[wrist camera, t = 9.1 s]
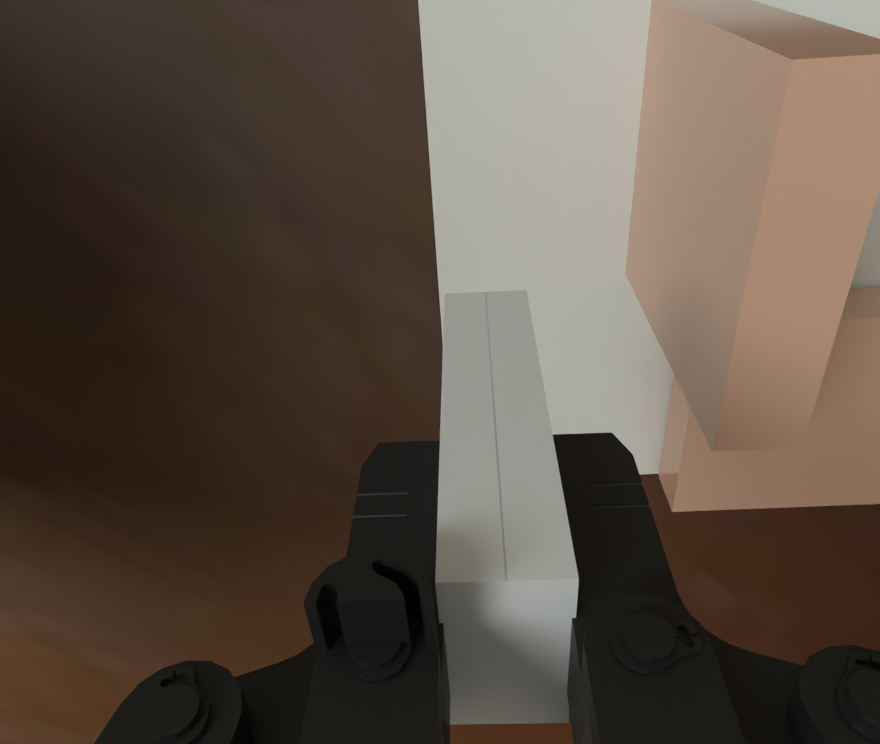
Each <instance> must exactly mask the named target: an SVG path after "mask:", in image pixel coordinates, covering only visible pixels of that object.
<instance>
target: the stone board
mask: <svg viewBox="0 0 880 744" xmlns="http://www.w3.org/2000/svg"><path fill="white" fill-rule="evenodd" d="M753 1H756V2H759V3H763V4H766V5H769V6H773V7H776V8H779V9H783V10H786V11H789V12H792V13H796V14H799V15H802V16H806V17H809V18H812V19H816V20H819V21H822V22H826V23H829V24H832V25H835V26H839V27H842V28H845V29H849V30H852V31H855V32H859V33H862V34H865V35H868V36H872V37H875V38H878V39H880V0H753ZM418 4H419V18H420V32H421V46H422V60H423V74H424V88H425V102H426V116H427V130H428V144H429V159H430V173H431V187H432V201H433V215H434V229H435V243H436V257H437V271H438V285H439V299H440V313H441V327H442V342H443V330H444V299H445V294H452V293H474V292H495V291H517V290H526V291H527V297H528V302H529V308H530V313H531V319H532V324H533V330H534V335H535V341H536V346H537V351H538V357H539V362H540V368H541V373H542V379H543V384H544V390H545V395H546V401H547V406H548V412H549V417H550V423H551V428H552V434H553V435H554V434H583V433H611V432H612V433H613V434H614V435H615V436H616V437H617V438H618V440H619V441H620V442H621V443H622V444H623V445H624V446H625V447H626V448H627V449H628V450H629V451H630V452H631V453H632V454H633V456H634V459H635V462H636V465H637V469H638V472H639V474H659V470H660V464H661V457H662V451H663V444H664V438H665V431H666V425H667V418H668V412H669V405H670V399H671V392H672V385H673V379H674V373H673V371H672V369H671V367H670V365H669V363H668V361H667V359H666V357H665V355H664V353H663V350H662V348H661V346H660V344H659V342H658V340H657V338H656V336H655V334H654V332H653V330H652V328H651V326H650V324H649V322H648V320H647V318H646V316H645V314H644V312H643V309H642V307H641V305H640V303H639V301H638V299H637V297H636V295H635V293H634V291H633V289H632V287H631V285H630V283H629V281H628V279H627V277H626V275H625V271H626V260H627V250H628V240H629V229H630V219H631V208H632V198H633V187H634V177H635V167H636V156H637V146H638V135H639V125H640V114H641V104H642V94H643V83H644V73H645V62H646V52H647V41H648V31H649V21H650V10H651V0H418ZM866 287H880V189H879V193H878V196H877V199H876V203H875V206H874V209H873V213H872V216H871V219H870V223H869V226H868V229H867V233H866V236H865V239H864V243H863V246H862V249H861V253H860V256H859V259H858V263H857V266H856V269H855V273H854V276H853V279H852V283H851V286H850V288H866Z"/></svg>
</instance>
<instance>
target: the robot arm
mask: <svg viewBox="0 0 880 744" xmlns="http://www.w3.org/2000/svg"><path fill="white" fill-rule="evenodd" d="M641 482H642V481H641V478H640V475H639V472H638V469H637V465H636V462H635V459H634V456H633V454H632V453H631V452H630V451H629V450H628V449H627V448H626V447H625V446H624V445H623V444H622V443H621V442H620V441H619V440H618V438H617V437H616V436H615V435H614V434H613V433H612V432H611V433H583V434H554V435H553V434H552V428H551V423H550V417H549V412H548V406H547V401H546V395H545V390H544V384H543V379H542V373H541V368H540V362H539V357H538V351H537V346H536V341H535V335H534V330H533V324H532V319H531V313H530V308H529V302H528V297H527V291H526V290H517V291H495V292H474V293H452V294H445V299H444V330H443V360H442V391H441V421H440V441H417V442H389V443H379V444H378V445H377V447H376V448H375V449H374V451H373V452H372V453H371V455H370V456H369V457H368V459H367V460H366V461H365V463H364V464H363V465H362V469H361V474H360V480H359V486H358V492H357V493H358V497H357V498H356V504H355V509H354V520H353V521H352V527H351V533H350V539H349V544H348V550H347V556H346V557H345V558H343V559H341V560H339V561H337V562H335V563H333V564H332V565H330V566H328V567H327V568H326V569H325V570H324V571H323V572H322V573H321V574H320V575H319V576H318V577H317V578H316V579H315V580H314V581H313V583H312V585H311V587H310V589H309V591H308V594H307V596H306V598H305V600H304V606H305V610H306V614H307V618H308V621H309V625H310V629H311V632H312V636H313V640H314V643H313V644H312V645H311V646H309V647H308V648H306V649H305V650H303V651H302V652H300V653H299V654H298V655H296V656H293V657H291V658H289V659H287V660H284V661H282V662H280V663H277V664H274V665H271V666H268V667H265V668H262V669H259V670H256V671H253V672H250V673H247V674H243V675H240V676H237V677H233V675H232V674H231V672H230V671H229V670H228V669H226V668H224V667H222V666H220V665H218V664H215V663H213V662H211V661H184V662H181V663H178V664H175V665H171V666H168V667H165V668H162V669H161V670H159V671H158V672H156V673H155V674H153V675H152V676H150V677H149V678H147V679H145V680H144V681H142V682H141V683H139V684H138V685H137V687H136V688H135V689H134V690H133V691H132V692H131V693H130V694H129V696H128V697H127V698H126V699H125V700H124V701H123V702H122V703H121V705H120V706H119V707H118V709H117V710H116V712H115V713H114V715H113V716H112V718H111V719H110V721H109V722H108V724H107V725H106V727H105V728H104V730H103V731H102V733H101V734H100V736H99V737H98V739H97V740H96V742H95V743H94V744H450V725H451V724H523V723H568V720H569V711H570V718H571V725H572V732H573V739H574V744H880V652H878V651H874V650H871V649H867V648H863V647H859V646H855V645H848V646H830V647H827V648H825V649H823V650H821V651H819V652H817V653H815V654H813V655H811V656H809V658H808V660H807V662H806V663H805V665H804V666H802V665H798V664H794V663H790V662H787V661H783V660H779V659H775V658H772V657H768V656H764V655H760V654H757V653H753V652H749V651H747V650H744V649H741V648H738V647H736V646H733V645H730V644H728V643H726V642H725V641H723V640H721V639H719V638H718V637H716V636H714V635H712V634H711V633H710V632H708V631H707V630H706V629H705V628H704V627H702V626H701V625H700V623H699V622H698V621H697V620H696V619H694V618H693V617H692V616H691V614H690V613H689V612H688V611H687V609H686V608H685V607H684V605H683V603H682V601H681V599H680V596H679V594H678V592H677V589H676V586H675V583H674V580H673V577H672V574H671V571H670V568H669V565H668V561H667V558H666V555H665V552H664V549H663V546H662V543H661V540H660V537H659V534H658V530H657V527H656V524H655V521H654V518H653V515H652V512H651V509H649V503H648V499H647V496H646V493H645V490H644V487H643V486H642V483H641Z"/></svg>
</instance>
